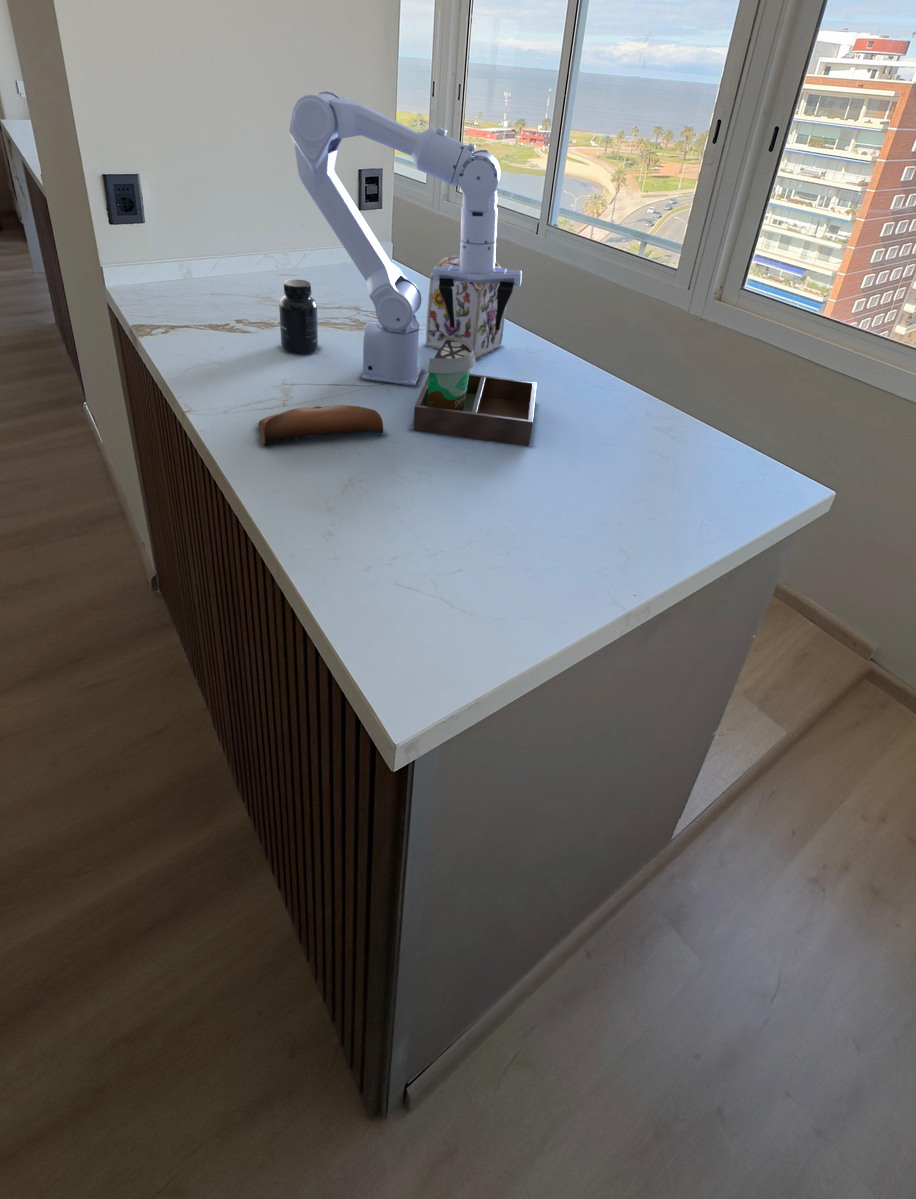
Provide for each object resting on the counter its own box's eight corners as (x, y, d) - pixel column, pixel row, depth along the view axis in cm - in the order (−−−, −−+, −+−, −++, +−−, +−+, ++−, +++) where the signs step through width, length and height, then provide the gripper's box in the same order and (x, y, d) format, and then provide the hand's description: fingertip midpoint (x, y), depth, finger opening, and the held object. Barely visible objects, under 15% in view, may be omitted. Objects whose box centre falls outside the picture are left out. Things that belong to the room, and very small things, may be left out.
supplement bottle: (274, 350, 136) (269, 283, 129) (294, 339, 141) (290, 274, 134) (306, 358, 135) (303, 290, 127) (325, 347, 140) (323, 281, 132)
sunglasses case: (368, 411, 117) (374, 385, 111) (378, 448, 115) (386, 424, 109) (254, 420, 111) (255, 393, 105) (263, 460, 109) (264, 435, 103)
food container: (462, 427, 115) (468, 365, 109) (424, 420, 116) (428, 358, 110) (476, 397, 125) (482, 339, 119) (441, 392, 126) (446, 333, 119)
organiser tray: (413, 430, 115) (414, 406, 112) (429, 390, 128) (430, 368, 125) (528, 446, 114) (532, 422, 111) (533, 404, 127) (536, 382, 124)
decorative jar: (473, 361, 141) (483, 262, 130) (423, 346, 145) (429, 248, 134) (503, 346, 149) (515, 252, 138) (455, 332, 153) (463, 239, 142)
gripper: (429, 243, 114) (429, 331, 122) (521, 248, 112) (515, 337, 121) (436, 234, 119) (436, 319, 128) (524, 238, 118) (518, 324, 126)
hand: (475, 327), depth 125 cm, fingers open, 7 cm apart
